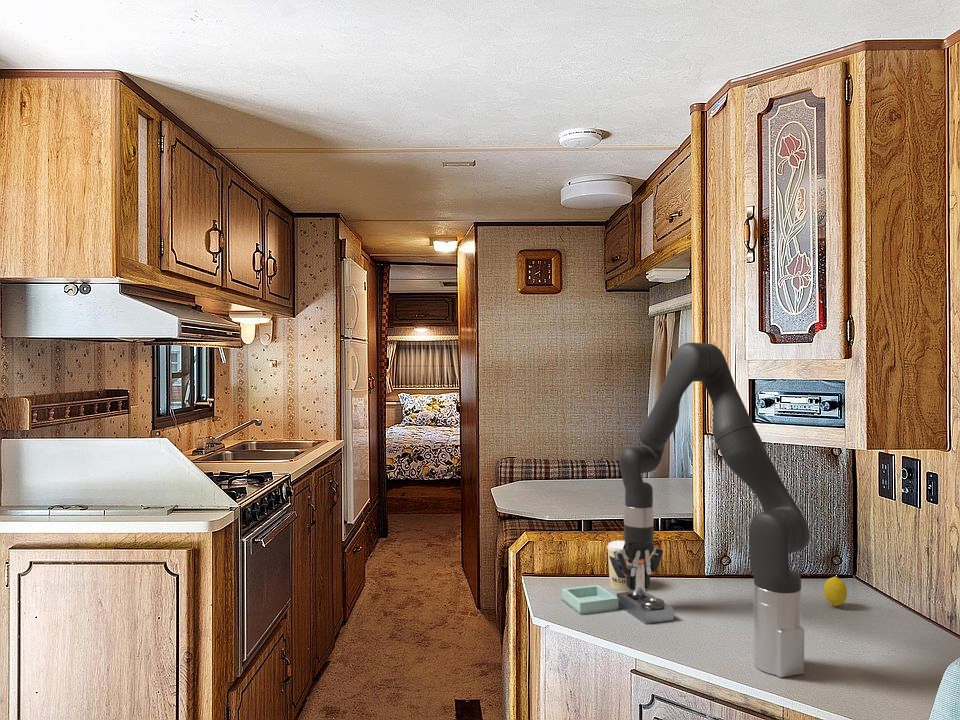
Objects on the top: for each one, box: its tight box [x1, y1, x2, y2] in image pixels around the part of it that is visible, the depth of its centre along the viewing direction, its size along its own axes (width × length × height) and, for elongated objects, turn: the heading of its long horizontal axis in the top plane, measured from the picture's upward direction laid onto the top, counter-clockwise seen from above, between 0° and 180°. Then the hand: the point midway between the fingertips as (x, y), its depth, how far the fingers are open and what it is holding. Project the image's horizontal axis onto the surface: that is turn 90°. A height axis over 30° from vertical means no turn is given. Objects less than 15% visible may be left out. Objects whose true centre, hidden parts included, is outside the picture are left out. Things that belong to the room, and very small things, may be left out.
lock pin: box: [632, 559, 646, 601], centre depth 183 cm, size 3×3×13 cm
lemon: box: [823, 575, 848, 608], centre depth 184 cm, size 6×6×8 cm
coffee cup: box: [606, 540, 632, 592], centre depth 200 cm, size 9×9×12 cm
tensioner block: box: [616, 590, 675, 625], centre depth 180 cm, size 14×8×5 cm, turn 18°
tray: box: [561, 584, 619, 615], centre depth 185 cm, size 11×11×3 cm
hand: (638, 588), depth 183 cm, fingers closed on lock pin, 3 cm apart
